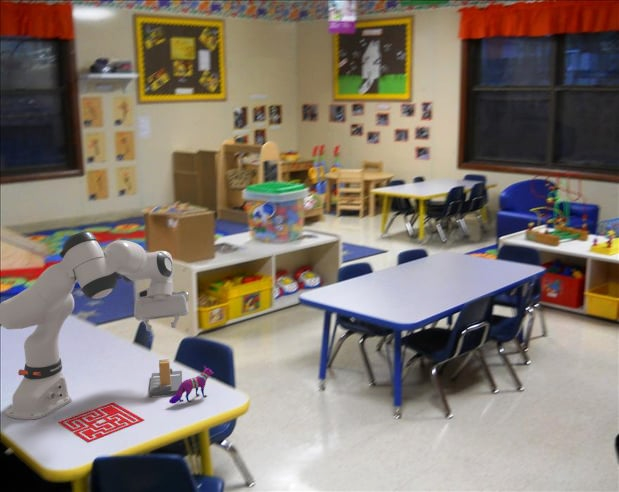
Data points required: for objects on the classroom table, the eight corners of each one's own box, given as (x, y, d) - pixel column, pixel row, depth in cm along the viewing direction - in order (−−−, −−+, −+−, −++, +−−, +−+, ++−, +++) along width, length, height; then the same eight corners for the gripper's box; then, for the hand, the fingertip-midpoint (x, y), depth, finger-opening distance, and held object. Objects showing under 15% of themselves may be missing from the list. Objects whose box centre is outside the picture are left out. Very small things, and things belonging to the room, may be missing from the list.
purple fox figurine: (217, 393, 256) (215, 365, 254) (172, 408, 245) (170, 380, 243) (211, 390, 259) (210, 362, 256) (167, 405, 248) (164, 377, 245)
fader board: (181, 393, 256) (181, 386, 256) (150, 397, 255) (149, 389, 254) (182, 374, 274) (181, 366, 273) (152, 377, 272) (151, 369, 271)
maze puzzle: (58, 423, 237) (58, 421, 237) (113, 403, 251) (113, 402, 251) (88, 443, 223) (88, 441, 223) (144, 421, 237) (144, 419, 237)
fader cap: (170, 386, 258) (168, 362, 256) (160, 387, 258) (158, 363, 256) (171, 382, 262) (169, 358, 260) (161, 383, 261) (159, 359, 259)
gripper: (190, 293, 274) (191, 328, 269) (138, 299, 276) (137, 334, 271) (185, 287, 268) (186, 323, 263) (132, 294, 271) (131, 329, 265)
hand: (161, 329), depth 267 cm, fingers open, 8 cm apart
